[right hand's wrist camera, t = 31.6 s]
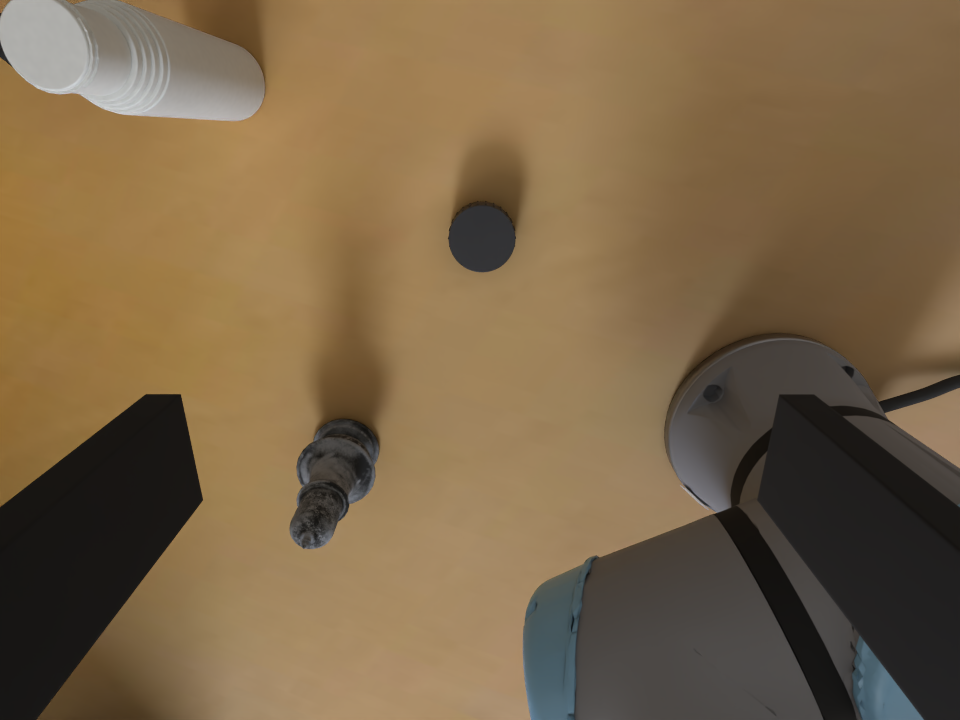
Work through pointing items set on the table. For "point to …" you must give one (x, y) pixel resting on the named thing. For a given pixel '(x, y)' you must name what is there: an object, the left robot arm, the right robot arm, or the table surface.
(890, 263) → the table surface
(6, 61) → the left robot arm
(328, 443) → the grey tall turned piece
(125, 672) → the table surface
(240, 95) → the bottle
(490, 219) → the cap
